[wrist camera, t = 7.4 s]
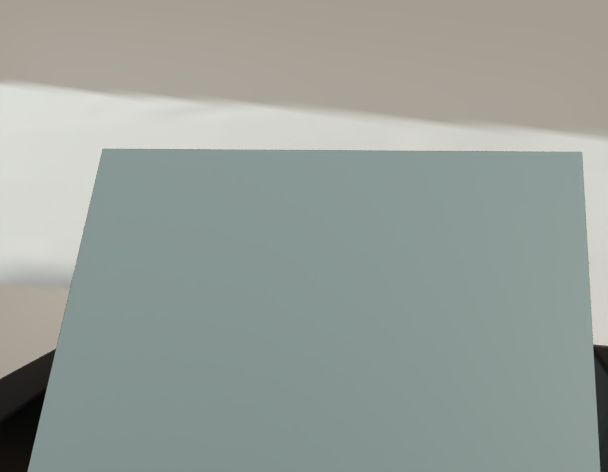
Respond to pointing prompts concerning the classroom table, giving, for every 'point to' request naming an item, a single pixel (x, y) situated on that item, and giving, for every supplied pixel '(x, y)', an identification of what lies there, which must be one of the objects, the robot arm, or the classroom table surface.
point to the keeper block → (327, 315)
